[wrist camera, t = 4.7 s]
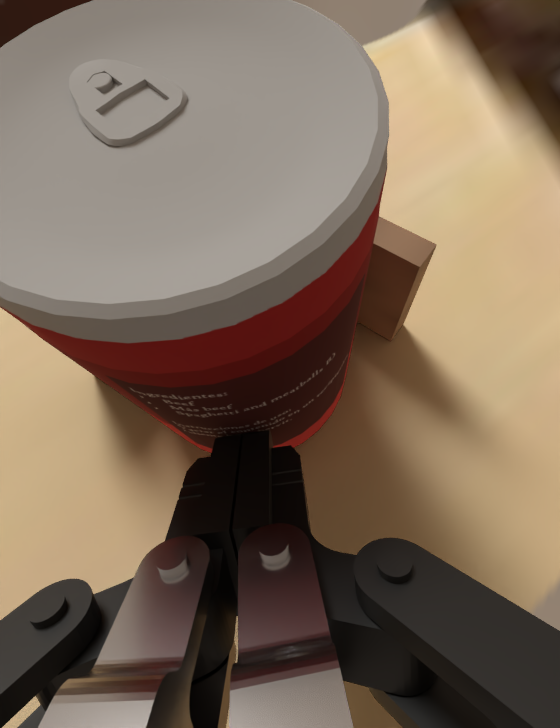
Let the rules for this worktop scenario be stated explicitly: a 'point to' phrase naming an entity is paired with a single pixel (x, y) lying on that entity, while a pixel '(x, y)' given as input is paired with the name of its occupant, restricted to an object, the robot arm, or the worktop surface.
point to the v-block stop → (392, 277)
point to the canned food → (194, 204)
